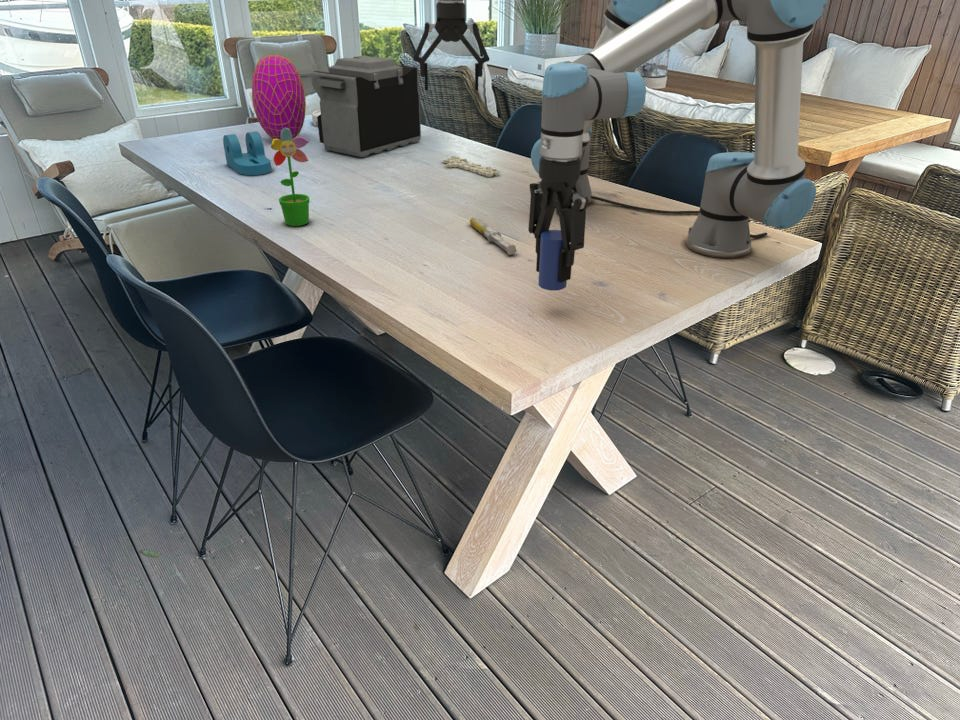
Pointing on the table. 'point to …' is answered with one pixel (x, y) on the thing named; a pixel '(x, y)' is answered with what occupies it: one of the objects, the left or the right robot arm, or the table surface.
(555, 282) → the can
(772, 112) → the right robot arm
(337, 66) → the cooler box
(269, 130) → the decorative egg
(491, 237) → the syringe
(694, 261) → the table surface
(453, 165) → the decorative sign
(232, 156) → the camera mount
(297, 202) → the potted flower
